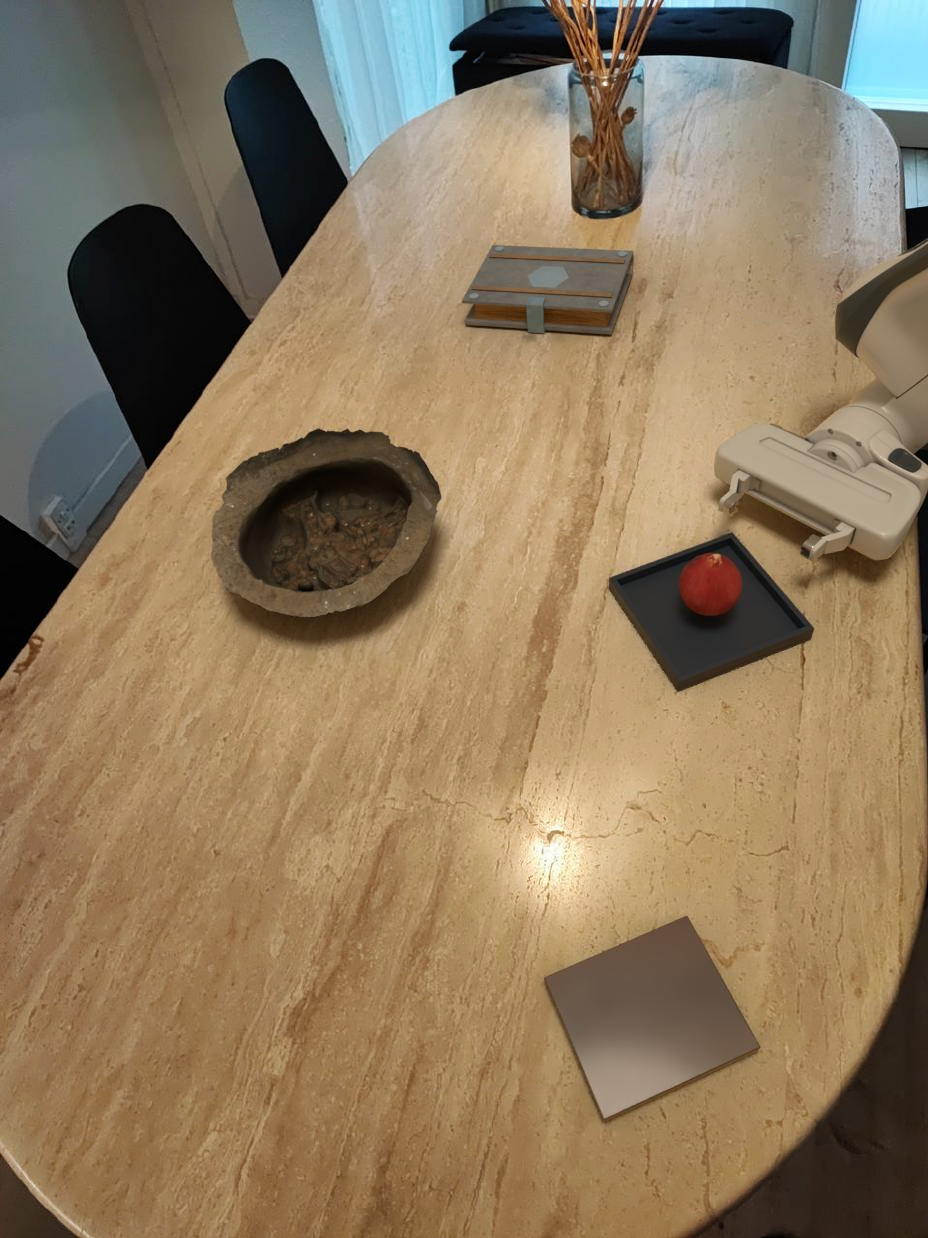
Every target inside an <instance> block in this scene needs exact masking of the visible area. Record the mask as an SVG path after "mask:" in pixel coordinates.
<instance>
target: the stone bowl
mask: <svg viewBox="0 0 928 1238" xmlns="http://www.w3.org/2000/svg"><path fill="white" fill-rule="evenodd" d="M422 457H423V456H421V454H420V452H418V451H416V450H412V449H409V448H408V447H405V446H396V445H395V444H393V443H392V442H391V439H390V435H388V434H387V435H386V434H385V433H384V431H372V430H371V431H367V432H366V431H364V430H362V429H357V430H354V431H351V430H350V429H349V428H345V429H343V430H342V431H339V430H338V431H336V430H327V431H326V430H323V429H321V428H316V429H314V430H313V429H312V430H311V431H308V433H307V434H306V435H305V436H304V437H303V436H301V437H299V438H297V439H296V440H294V441H292V442H289V443H288V442H287V443H283V444H282V446H281V447H275V448H272V449H269V450H266V451H259V452H258V453H257V455H253V456H250V457H249V458H247V459H245V460H243V461H242V462H240V464H238V465H237V466H236V467H235V468H234V470H233V471H231V472H230V473H229V474H227V476H225V481H226V489H225V490H224V491H223V493H222V494H221V499H222V501H223V503H222V505H221V506H220V507H219V509H218V510H216V511H214V513H213V515H212V519H211V521H212V522H211V523H212V527H211V538H212V546H211V553H210V558H211V560H212V565H213V568H215V569H216V573H217V576H218V577H219V578H220V580H221V581H222V586H224V588H225V589H226V591H228V592H230V593H233V594H235V595H239V596H240V598H243V599H245V600H247V601H248V602H250V603H252V604H255V605H258V606H260V607H261V608H263V609H265V610H266V611H269V612H275V613H276V612H277V613H279V614H283V615H287V616H291V617H292V616H293V617H299V618H311V617H312V618H313V617H318V616H324V615H328V613H330V614H332V613H335V612H343V611H346V610H349V609H353V608H356V607H363V606H365V605H366V604H368V603H370V602H372V601H373V600H374V599H376V598H377V597H379V595H381V594H382V593H384V592H385V591H386V590H387V589H388V588H389V586H390V585H391V584H392V583H393V582H395V581H396V580H397V579H399V578H400V577H402V576H404V575H407V574H409V573H410V572H411V570H412V569H413V567H414V566H415V564H416V563H417V561H418V559H419V558H420V555H421V554H422V553H423V550H424V548H425V546H426V545H427V543H428V541H429V538H430V537H431V534H432V529H431V528H432V527H433V524H434V521H435V518H436V514H437V513H438V510H437V507H438V505H439V502H440V501H441V500H442V494H441V490H440V485H439V482H438V481H437V480H436V478H435V477H434V475H433V473H431V470H430V468H429V467H428V465H427V463H426V461H425V460H424V459H423V458H422Z"/></svg>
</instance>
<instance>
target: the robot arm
mask: <svg viewBox="0 0 928 1238" xmlns="http://www.w3.org/2000/svg"><path fill="white" fill-rule="evenodd" d="M834 333H835V339H836V340H837V341H838V342H839V343H840V344H841V345H842V346H843V347H844V348H845V349H847V350H848V351H849V352H850V353H851V354H852V355H853V356H855V357H856V358H857V359H859V360H860V361H861V362H862V363H863V364H864V365H865V366H866V367H867V368H868V369H869V371H870V372H871V373H872V374H873V375H874V376H875V378H874V379H873V380H871V381H870V382H869V383H867V384H866V385H864V387H862V388H861V389H860V390H858V391H857V392H856V393H855V394H854V395H853V396H852V397H851V399H850V401H849V402H848V404H847V405H844V406H841V407H840V408H838V409H836V410H835V411H834V412H833V413H831V415H829V416H828V417H827V418H826V419H825V420H824V421H822V422H821V423H820V424H818V425H817V426H816V427H815V428H814V429H813V430H811V432H810V433H808V434H807V435H805V437H804V436H802V435H800V434H798V433H795V432H793V431H789V430H787V429H785V428H783V427H782V426H781V425H778V424H776V423H773V422H772V423H771V422H770V423H758V422H756V423H753V424H750V425H749V426H748V427H747V428H745V429H743V430H741V431H739V432H738V433H736V434H735V435H732V436H731V437H730V438H728V439H727V440H726V441H724V442H722V443H721V444H720V445H719V446H718V447H717V449H716V451H715V455H714V460H713V461H714V462H713V473H714V477H715V478H716V479H718V480H719V481H721V482H723V483H725V484H727V485H729V490H728V492H727V493H726V494H724V495H723V496H722V497H721V498H720V500H719V502H718V508H717V510H718V511H719V512H721V513H722V514H724V515H727V516H728V517H730V518H731V517H733V516H735V515H734V514H735V513H738V512H739V511H740V510H741V508H742V503H741V502H742V501H743V495H745V494H746V495H748V496H750V497H752V498H754V499H755V500H758V501H760V502H762V503H764V504H766V505H768V506H769V507H771V508H773V509H775V510H777V511H779V512H781V513H783V514H784V515H786V516H788V517H791V518H792V519H794V520H796V521H798V522H800V523H802V524H804V525H806V526H808V527H810V528H811V529H814V530H815V531H817V532H819V533H821V534H823V535H824V536H819V535H816V534H815V533H812V534H811V535H810V536H809V537H808V539H806V540H805V541H804V542H803V543H802V545H801V547H800V550H801V551H799V555H800V556H801V557H803V558H805V559H807V560H809V561H810V562H812V563H815V562H816V561H817V560H818V559H819V558H820V557H821V556H823V555H827V554H832V553H837V552H842V551H844V550H845V549H846V548H847V547H848V548H850V549H852V550H853V551H856V552H858V553H859V554H862V555H863V556H864V557H867V558H869V559H871V560H873V561H883V560H888V559H890V558H891V557H892V556H893V555H894V554H895V553H896V551H898V550H899V548H900V547H901V545H902V544H903V543H904V541H905V539H906V538H907V536H908V534H909V532H910V530H911V527H912V525H913V522H914V521H915V518H916V516H917V515H918V513H919V511H920V509H921V507H922V506H923V503H924V501H925V500H926V496H927V493H928V464H926V463H925V462H924V461H922V460H921V459H920V458H919V457H917V455H915V453H917V452H918V451H919V450H923V451H926V450H928V237H927V238H925V239H924V240H923V241H921V242H919V243H918V244H916V245H915V246H913V247H911V248H909V249H907V250H905V251H903V252H902V253H900V254H899V255H897V256H894V257H892V258H889V259H887V260H885V261H883V262H880V263H879V264H877V265H875V266H874V267H872V268H871V269H869V270H868V271H866V272H865V273H864V274H862V275H861V276H860V277H859V278H858V279H857V280H855V281H854V282H853V284H852V285H850V286H849V288H848V289H847V290H846V292H844V294H843V295H842V297H841V299H840V301H839V303H837V305H836V310H835V317H834Z"/></svg>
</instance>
